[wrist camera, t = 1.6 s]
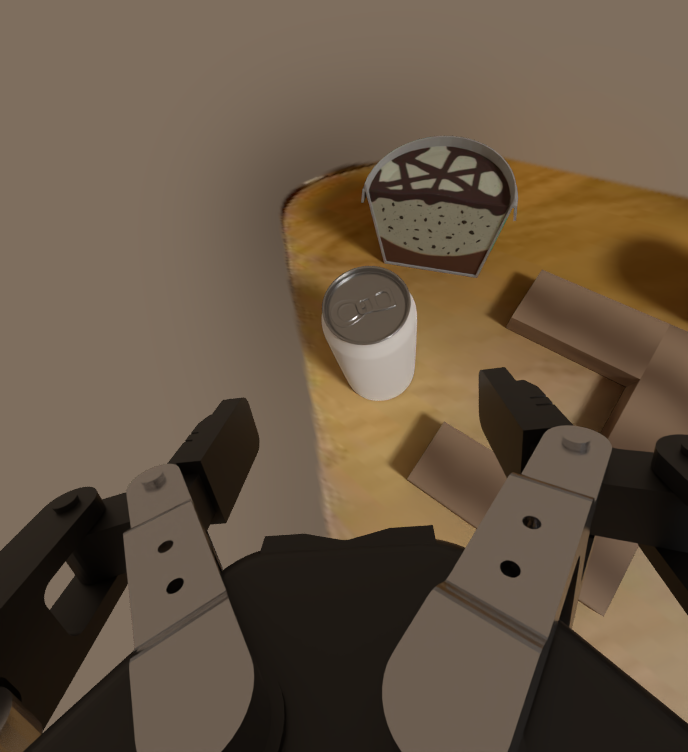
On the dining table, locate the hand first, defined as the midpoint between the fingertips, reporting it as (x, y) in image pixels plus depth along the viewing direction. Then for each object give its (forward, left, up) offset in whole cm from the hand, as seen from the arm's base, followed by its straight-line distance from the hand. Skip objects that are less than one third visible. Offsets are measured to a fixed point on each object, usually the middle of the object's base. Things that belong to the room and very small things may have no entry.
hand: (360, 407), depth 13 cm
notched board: (-11, +9, -20) cm, 24 cm away
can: (-7, -6, -20) cm, 22 cm away
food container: (-21, -8, -20) cm, 30 cm away
